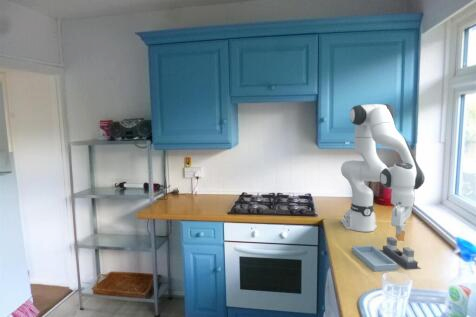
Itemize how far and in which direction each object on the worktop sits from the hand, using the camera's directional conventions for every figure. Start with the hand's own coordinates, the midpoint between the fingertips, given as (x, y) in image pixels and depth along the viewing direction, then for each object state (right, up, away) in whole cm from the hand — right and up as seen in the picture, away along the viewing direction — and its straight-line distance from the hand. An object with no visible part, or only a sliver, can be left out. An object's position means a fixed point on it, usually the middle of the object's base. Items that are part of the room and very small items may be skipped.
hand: (400, 230), depth 142 cm
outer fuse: (+1, -13, -5) cm, 14 cm away
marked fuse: (0, -4, 0) cm, 4 cm away
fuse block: (0, -14, +1) cm, 14 cm away
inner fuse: (-1, -12, +7) cm, 14 cm away
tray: (-12, -14, 0) cm, 18 cm away
